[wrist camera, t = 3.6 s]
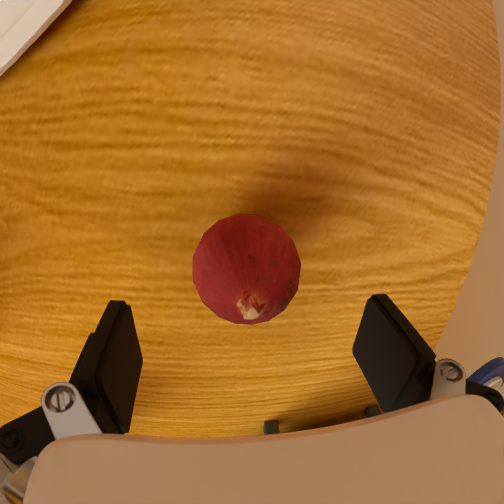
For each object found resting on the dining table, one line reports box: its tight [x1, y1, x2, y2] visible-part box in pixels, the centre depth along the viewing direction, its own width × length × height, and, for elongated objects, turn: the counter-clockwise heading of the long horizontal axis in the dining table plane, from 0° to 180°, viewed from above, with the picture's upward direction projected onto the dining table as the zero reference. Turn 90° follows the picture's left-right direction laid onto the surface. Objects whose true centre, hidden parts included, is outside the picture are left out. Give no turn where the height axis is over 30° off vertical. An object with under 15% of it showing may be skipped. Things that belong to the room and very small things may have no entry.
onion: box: [193, 214, 301, 325], centre depth 16 cm, size 6×6×8 cm
